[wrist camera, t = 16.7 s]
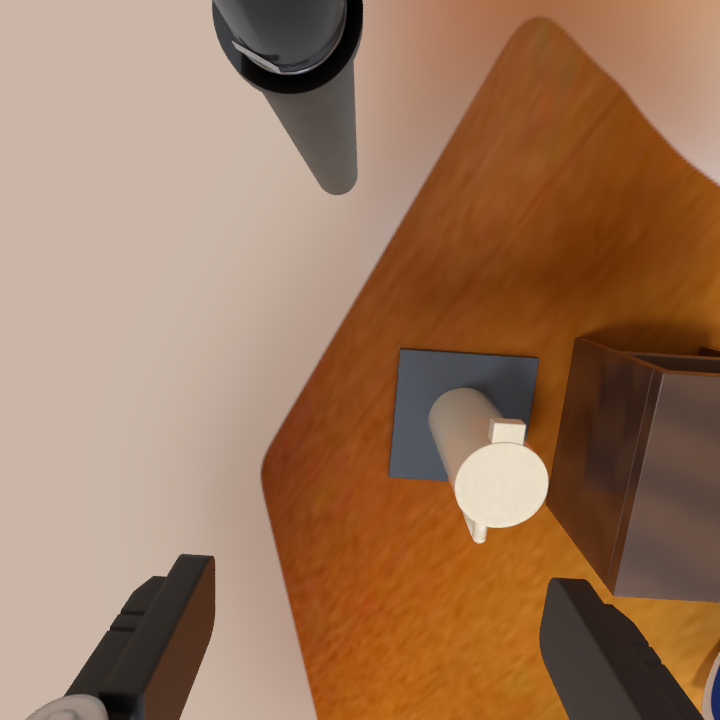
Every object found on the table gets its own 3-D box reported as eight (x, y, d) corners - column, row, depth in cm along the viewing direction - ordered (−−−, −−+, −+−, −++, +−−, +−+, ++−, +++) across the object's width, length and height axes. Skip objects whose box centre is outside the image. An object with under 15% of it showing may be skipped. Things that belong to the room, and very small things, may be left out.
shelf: (575, 337, 40) (663, 372, 29) (712, 346, 40) (856, 385, 29) (545, 504, 44) (613, 596, 32) (671, 512, 44) (784, 607, 32)
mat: (400, 348, 40) (400, 349, 40) (537, 357, 41) (539, 358, 40) (388, 475, 43) (388, 477, 43) (517, 483, 43) (519, 485, 43)
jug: (433, 371, 40) (462, 421, 29) (501, 376, 40) (559, 427, 29) (421, 480, 43) (444, 566, 31) (486, 484, 43) (533, 572, 31)
